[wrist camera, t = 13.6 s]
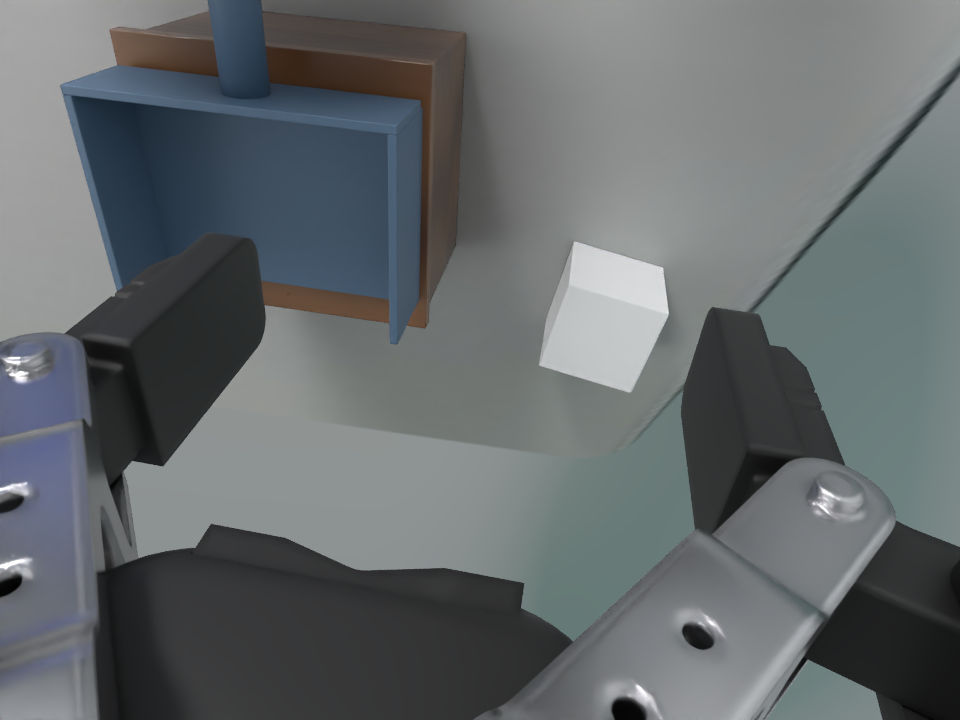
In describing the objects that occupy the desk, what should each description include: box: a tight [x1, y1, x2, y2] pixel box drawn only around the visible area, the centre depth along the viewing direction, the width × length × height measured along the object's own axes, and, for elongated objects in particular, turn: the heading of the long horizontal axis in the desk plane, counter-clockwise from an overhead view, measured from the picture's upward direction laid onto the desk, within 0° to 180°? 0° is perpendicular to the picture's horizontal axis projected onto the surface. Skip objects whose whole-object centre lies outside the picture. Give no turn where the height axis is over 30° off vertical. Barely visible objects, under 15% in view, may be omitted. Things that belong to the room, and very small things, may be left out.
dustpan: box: [60, 0, 423, 344], centre depth 29 cm, size 20×14×4 cm
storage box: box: [110, 11, 466, 328], centre depth 38 cm, size 15×15×10 cm
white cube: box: [539, 241, 669, 393], centre depth 43 cm, size 6×6×6 cm
